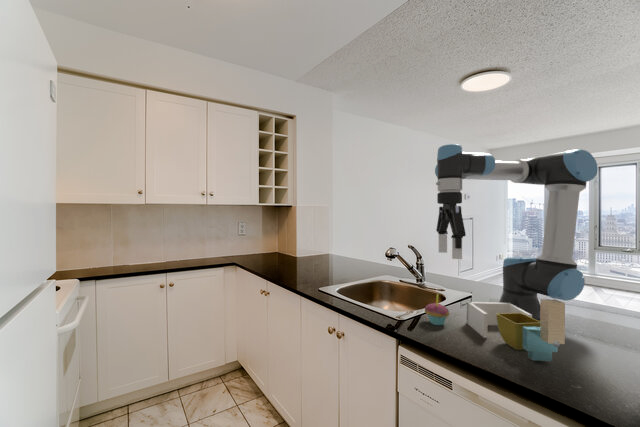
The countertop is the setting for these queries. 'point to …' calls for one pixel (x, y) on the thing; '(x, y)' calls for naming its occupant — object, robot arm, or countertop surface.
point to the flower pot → (514, 327)
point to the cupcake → (436, 312)
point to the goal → (488, 314)
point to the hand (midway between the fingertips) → (449, 255)
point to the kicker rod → (546, 331)
